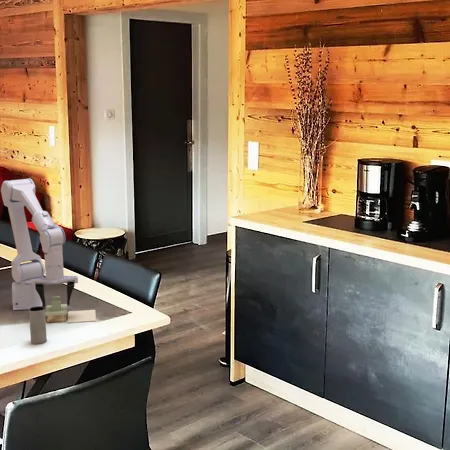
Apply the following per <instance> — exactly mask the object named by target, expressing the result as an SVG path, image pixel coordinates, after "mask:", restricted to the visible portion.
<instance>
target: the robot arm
mask: <svg viewBox="0 0 450 450" xmlns="http://www.w3.org/2000/svg"><path fill="white" fill-rule="evenodd" d="M0 193H1V198H2V202H3V205H4V206H5V207H7V209H8V215H9V220H10V224H11V229H12V234H13V239H14V244H15V249H16V251H17V252H16V253H17V254H16V256H15V257H14V258H13V260H12V261H10V262H11V264H10V265H11V276H12V278H13V280H14V281H13V282H12V283H11V297H12V298H11V299H12V300H11V303H12V311H22V310H29V309H30V308H31V307H36V306H42V307H44V308H46V297H45V296H46V295H45V285H46V286H47V285H59V284H60V285H61V284H66V297H67V298H66V304H67V306H70V303H71V302H70V301H71V296H72V293H73V291H74V288H75V284H79V278H78V277H79V276H78V275H65V273H64V257H63V256H64V255H63V245H64V244H65V243H66V233H65V231H64V229H63V227H62V226H59V225H57V224H55V222H54V219H53V218H52V216H51V215H50V213H49V212H48V211H46V210H43V208H42V206H41V204H40V202H39V200H38V198H37V196H36V185H35V181H34V180H33V179H32V178H30V177H29V178H23V179H11V180H3V182H2V184H1V186H0ZM24 207H26V209H27V210H28V211H29V212H30V214H31V215H32V217H31V222H32V224H33V225H34V226H35V228H36V230H37V231H38V233H39V235H40V236H39V241H40V244H41V247H42V248H41V250H42V252H43V253H44V263H43V261H42V257H41V255H39V254H37V253H36V252H34V251H33V247H32V241H31V237H30V232H29V227H28V223H27V217H26V214H25V213H26V212H25V208H24Z"/></svg>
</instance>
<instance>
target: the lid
mask: <svg viewBox="0 0 450 450" xmlns="http://www.w3.org/2000/svg"><path fill="white" fill-rule="evenodd" d="M50 301H51V304H49V305H48V304H47V305H46V306H45V317H47V316H54V315H66V316H68V312H67V311H68V305H67V303H63V304H62V301H61V295H57V296H51V300H50Z"/></svg>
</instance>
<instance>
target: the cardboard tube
mask: <svg viewBox="0 0 450 450" xmlns="http://www.w3.org/2000/svg"><path fill="white" fill-rule="evenodd" d="M28 313H29V314H28V315H29V329H30V330H29V332H30V343H31V344H34V345H40V344H41V345H42V344H45V343H46V342H47V340H48V339H47V318H46V316H45V313H46V307H43V305H42V306H36V307H31V308H30V309H28Z"/></svg>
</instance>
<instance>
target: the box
mask: <svg viewBox="0 0 450 450" xmlns="http://www.w3.org/2000/svg"><path fill="white" fill-rule="evenodd" d="M53 323H55V324H56V323H67V315H54V316H46V324H53Z"/></svg>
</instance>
